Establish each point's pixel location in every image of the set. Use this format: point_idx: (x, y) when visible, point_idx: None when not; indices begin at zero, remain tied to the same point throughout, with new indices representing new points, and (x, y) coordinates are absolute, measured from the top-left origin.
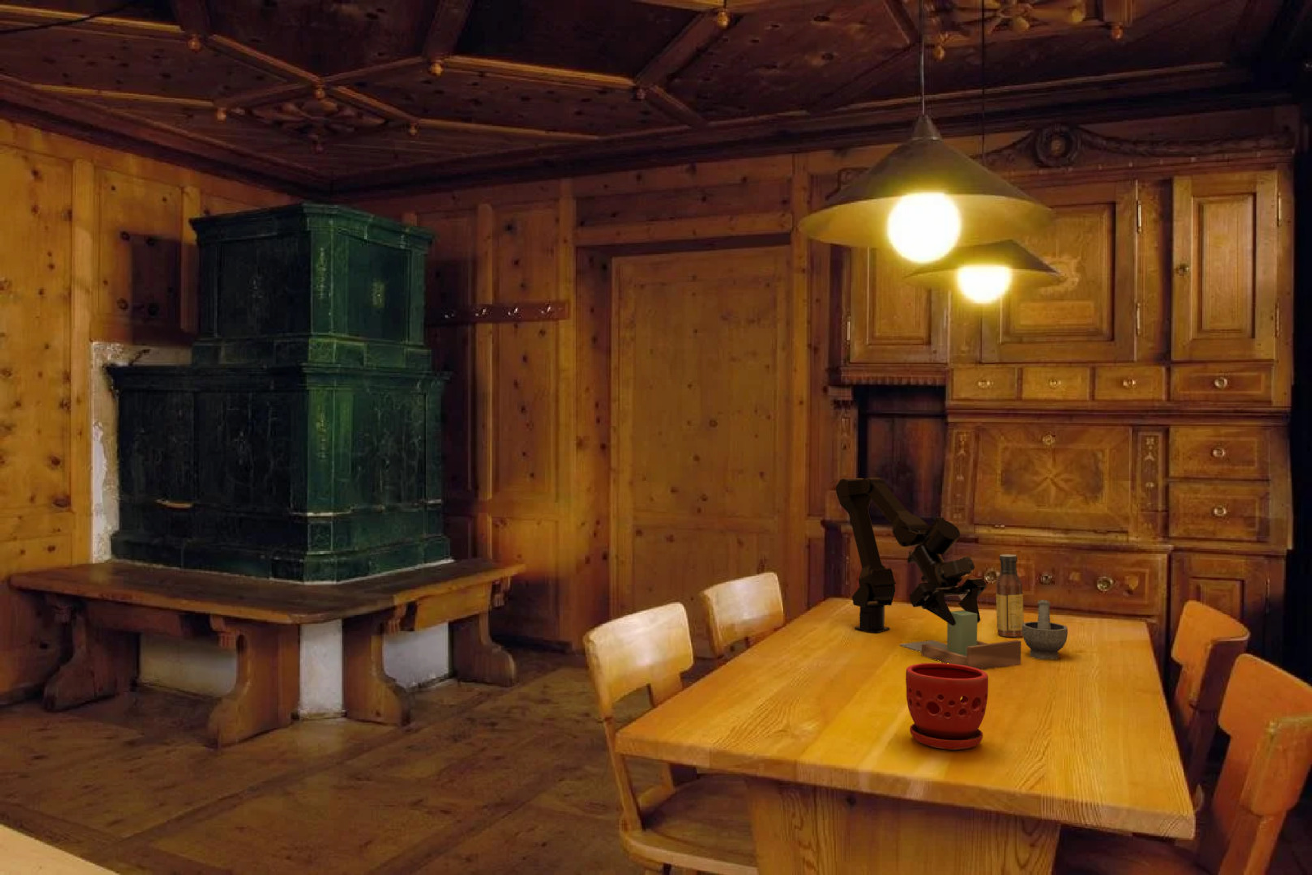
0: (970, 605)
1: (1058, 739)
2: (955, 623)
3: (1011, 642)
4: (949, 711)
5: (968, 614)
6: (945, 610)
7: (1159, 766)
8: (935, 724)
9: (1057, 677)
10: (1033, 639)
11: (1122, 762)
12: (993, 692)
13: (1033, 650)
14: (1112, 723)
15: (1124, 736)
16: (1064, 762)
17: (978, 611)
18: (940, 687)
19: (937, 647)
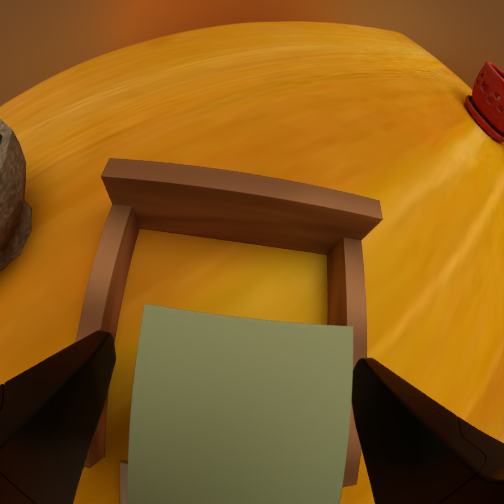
0: (37, 462)
1: (405, 65)
2: (362, 358)
3: (159, 162)
4: (499, 95)
5: (258, 331)
6: (452, 419)
7: (368, 29)
8: (500, 110)
9: (188, 105)
10: (19, 188)
11: (386, 41)
12: (392, 134)
13: (12, 233)
14: (329, 39)
15: (346, 35)
16: (422, 62)
17: (48, 360)
18: None
19: None
